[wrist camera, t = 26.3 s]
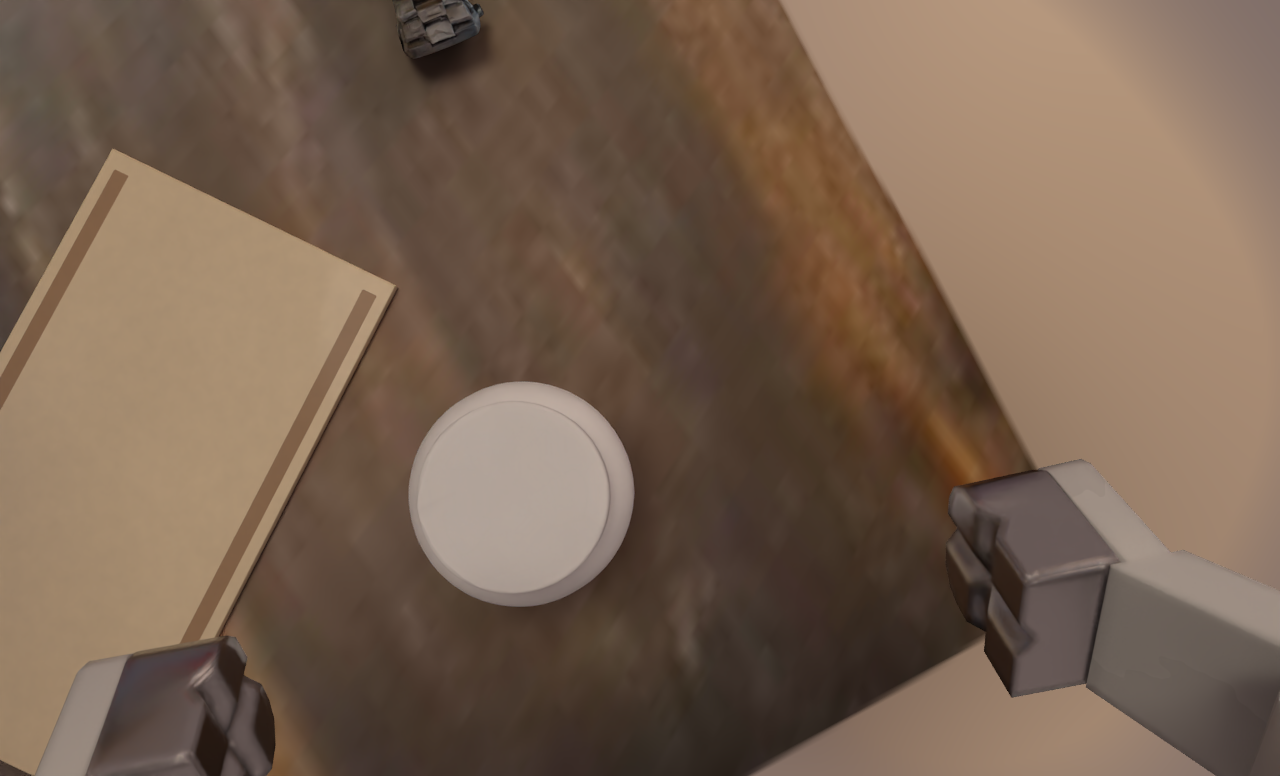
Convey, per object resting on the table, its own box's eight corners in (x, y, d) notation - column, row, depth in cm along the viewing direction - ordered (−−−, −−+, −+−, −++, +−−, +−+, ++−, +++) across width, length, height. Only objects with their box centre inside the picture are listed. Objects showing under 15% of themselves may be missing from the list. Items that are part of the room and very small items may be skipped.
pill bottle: (620, 392, 35) (633, 360, 24) (632, 566, 35) (653, 615, 24) (444, 405, 35) (376, 378, 24) (455, 581, 34) (390, 637, 23)
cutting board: (127, 814, 33) (121, 818, 33) (-170, 673, 33) (-179, 675, 33) (398, 287, 35) (395, 285, 35) (117, 151, 35) (112, 147, 34)
